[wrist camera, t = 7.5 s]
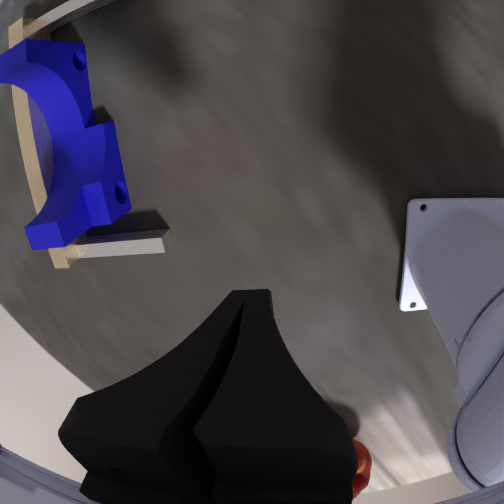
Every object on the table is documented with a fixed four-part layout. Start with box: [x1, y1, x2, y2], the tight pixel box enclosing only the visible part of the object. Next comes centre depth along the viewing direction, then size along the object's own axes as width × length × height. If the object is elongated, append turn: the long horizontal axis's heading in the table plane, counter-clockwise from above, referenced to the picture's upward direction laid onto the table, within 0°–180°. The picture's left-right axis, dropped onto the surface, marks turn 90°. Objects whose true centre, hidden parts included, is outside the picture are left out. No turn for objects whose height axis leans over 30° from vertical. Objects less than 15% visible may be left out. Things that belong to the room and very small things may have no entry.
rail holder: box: [9, 0, 173, 268], centre depth 17 cm, size 8×18×3 cm, turn 7°
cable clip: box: [0, 38, 132, 250], centre depth 16 cm, size 12×4×6 cm, turn 7°
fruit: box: [352, 439, 372, 499], centre depth 26 cm, size 8×8×8 cm
